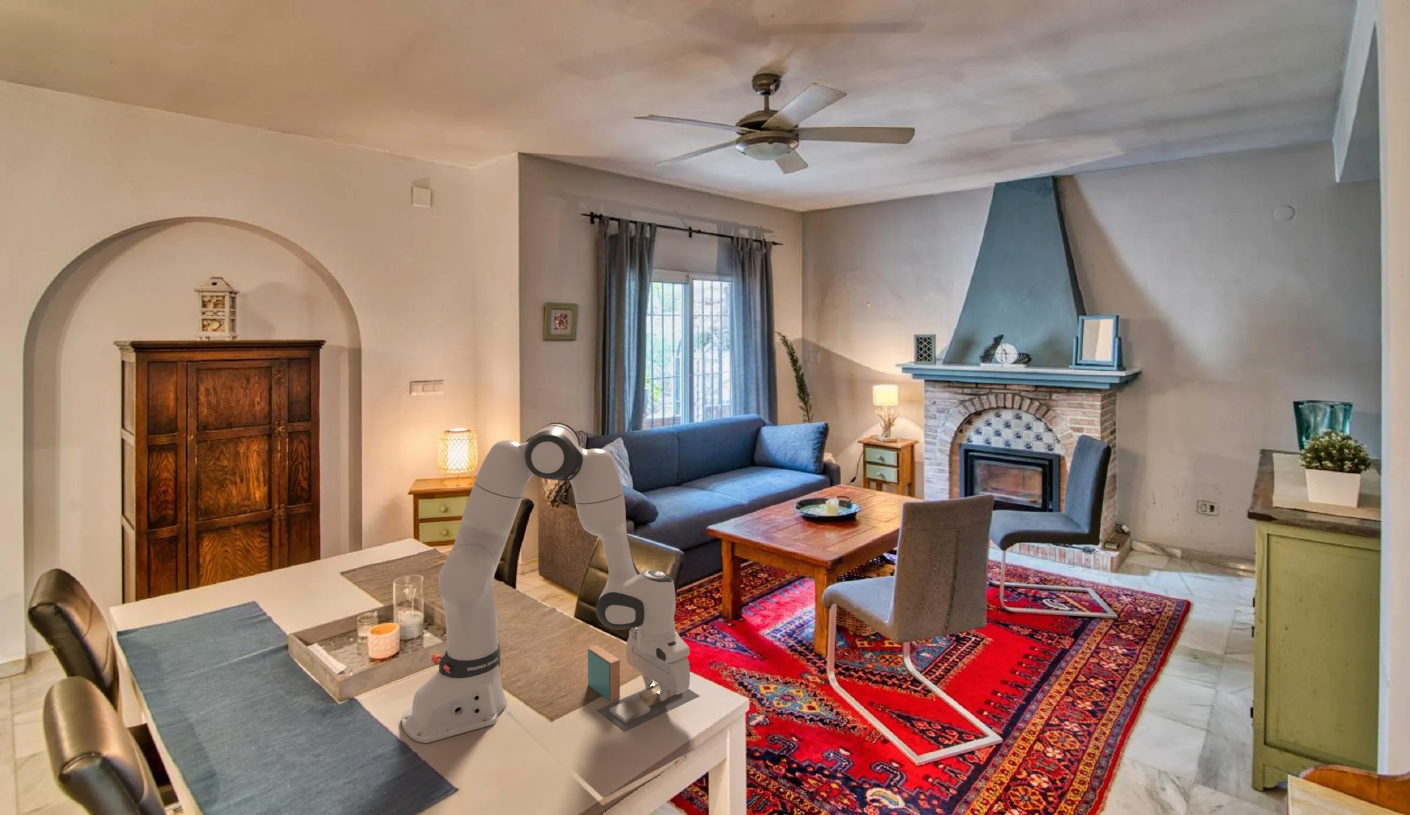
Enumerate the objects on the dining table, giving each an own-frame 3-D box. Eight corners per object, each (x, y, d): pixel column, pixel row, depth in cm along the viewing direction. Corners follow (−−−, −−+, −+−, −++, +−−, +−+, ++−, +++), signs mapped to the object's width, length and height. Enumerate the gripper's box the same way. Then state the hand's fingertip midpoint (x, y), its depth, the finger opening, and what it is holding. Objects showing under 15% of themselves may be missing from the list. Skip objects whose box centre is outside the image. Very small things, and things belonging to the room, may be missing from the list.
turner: (625, 722, 150) (625, 712, 150) (609, 711, 155) (609, 701, 154) (686, 694, 162) (686, 685, 162) (671, 684, 167) (671, 675, 166)
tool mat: (624, 734, 147) (624, 731, 147) (596, 712, 155) (596, 709, 155) (700, 698, 162) (700, 695, 162) (670, 680, 170) (670, 677, 170)
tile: (610, 703, 159) (610, 663, 158) (587, 686, 166) (586, 648, 165) (619, 699, 161) (619, 659, 160) (596, 683, 168) (596, 644, 167)
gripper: (619, 628, 164) (619, 682, 165) (673, 659, 149) (672, 718, 150) (640, 620, 168) (640, 673, 170) (694, 650, 153) (694, 708, 154)
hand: (655, 695), depth 160 cm, fingers open, 3 cm apart
